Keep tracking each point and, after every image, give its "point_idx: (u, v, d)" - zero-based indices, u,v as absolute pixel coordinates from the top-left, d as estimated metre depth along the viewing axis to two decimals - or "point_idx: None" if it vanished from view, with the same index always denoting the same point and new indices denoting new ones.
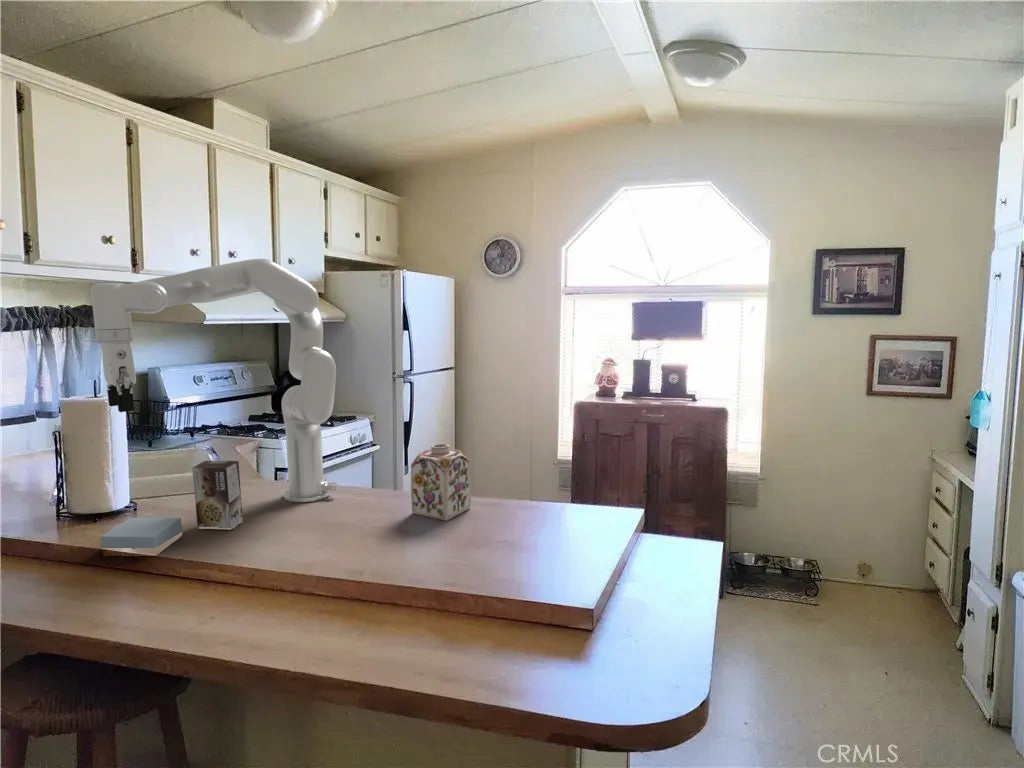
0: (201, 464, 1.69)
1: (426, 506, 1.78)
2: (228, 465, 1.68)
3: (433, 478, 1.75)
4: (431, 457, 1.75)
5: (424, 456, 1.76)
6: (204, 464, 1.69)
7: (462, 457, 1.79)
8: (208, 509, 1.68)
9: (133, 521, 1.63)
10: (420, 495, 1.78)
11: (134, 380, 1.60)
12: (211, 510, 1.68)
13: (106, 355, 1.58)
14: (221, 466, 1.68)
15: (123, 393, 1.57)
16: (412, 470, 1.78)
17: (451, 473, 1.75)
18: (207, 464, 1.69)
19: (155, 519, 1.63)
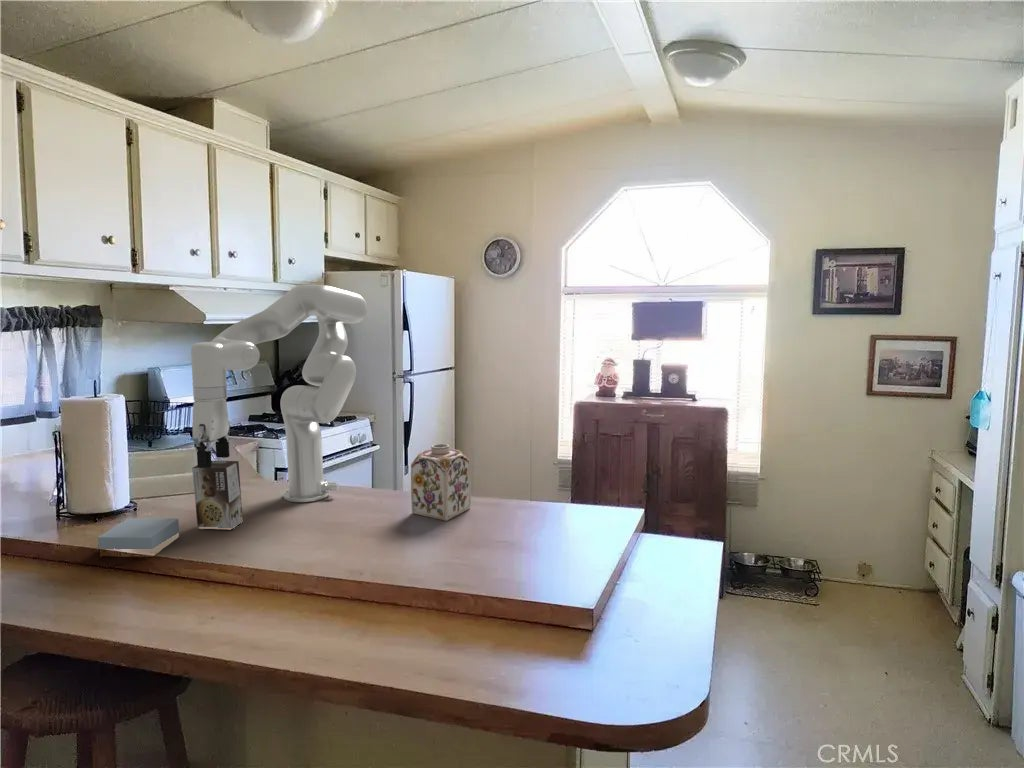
0: None
1: (426, 506, 1.78)
2: (228, 465, 1.68)
3: (434, 478, 1.75)
4: (431, 457, 1.75)
5: (424, 456, 1.76)
6: None
7: (462, 457, 1.79)
8: (208, 509, 1.68)
9: (130, 521, 1.62)
10: (420, 495, 1.78)
11: None
12: (211, 510, 1.68)
13: (224, 408, 1.69)
14: (221, 466, 1.68)
15: None
16: (412, 470, 1.78)
17: (451, 473, 1.75)
18: None
19: (152, 520, 1.63)
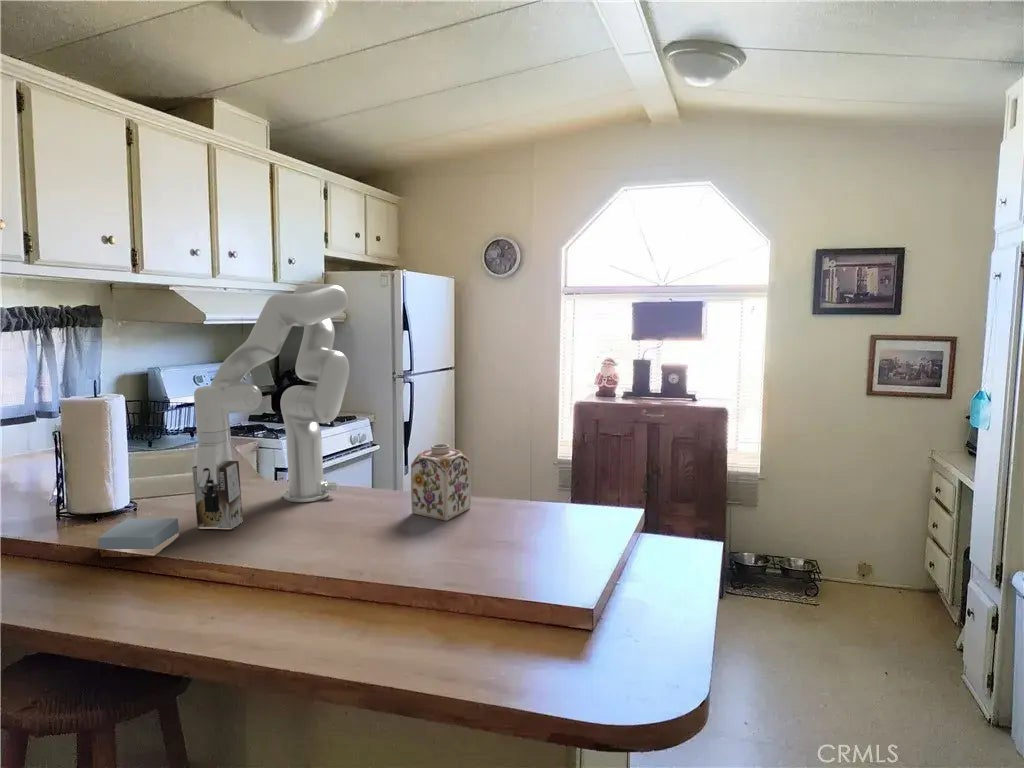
0: None
1: (426, 506, 1.78)
2: (228, 465, 1.68)
3: (434, 478, 1.75)
4: (431, 457, 1.75)
5: (424, 456, 1.76)
6: None
7: (462, 457, 1.79)
8: None
9: (130, 522, 1.62)
10: (420, 495, 1.78)
11: None
12: None
13: (228, 450, 1.71)
14: None
15: None
16: (412, 470, 1.78)
17: (451, 473, 1.75)
18: None
19: (151, 520, 1.63)
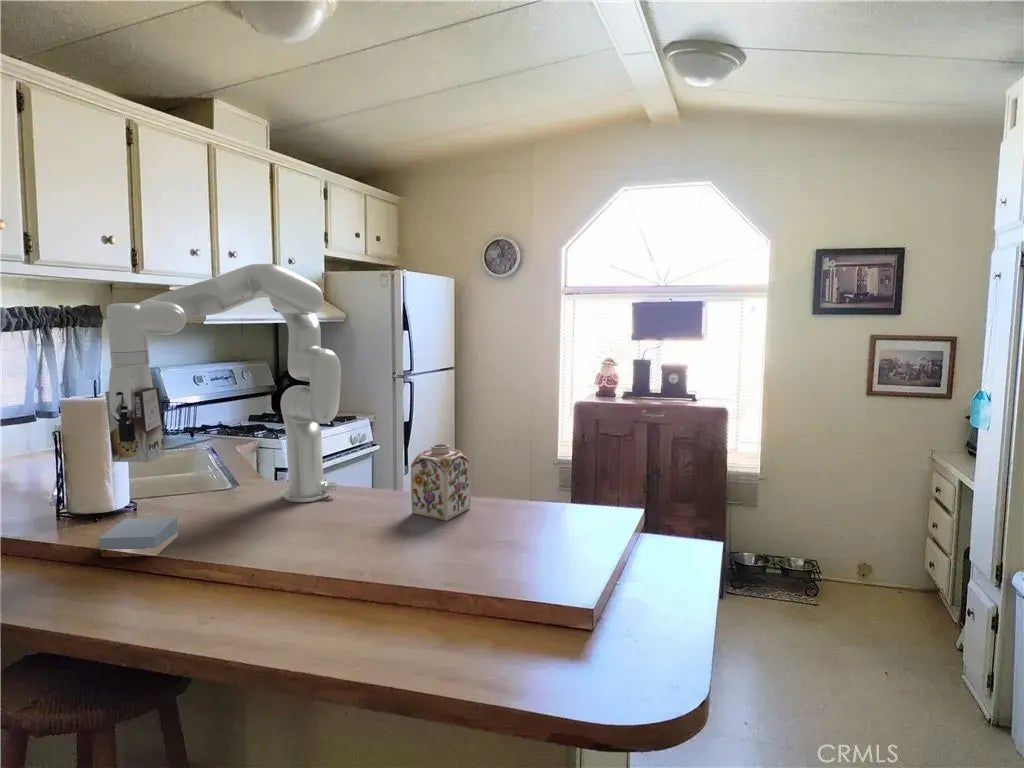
0: None
1: (426, 506, 1.78)
2: (145, 390, 1.53)
3: (434, 478, 1.75)
4: (431, 457, 1.75)
5: (424, 456, 1.76)
6: None
7: (462, 457, 1.79)
8: None
9: (128, 522, 1.62)
10: (420, 495, 1.78)
11: None
12: None
13: (147, 376, 1.56)
14: (137, 391, 1.52)
15: None
16: (412, 470, 1.78)
17: (451, 473, 1.75)
18: None
19: (150, 520, 1.63)
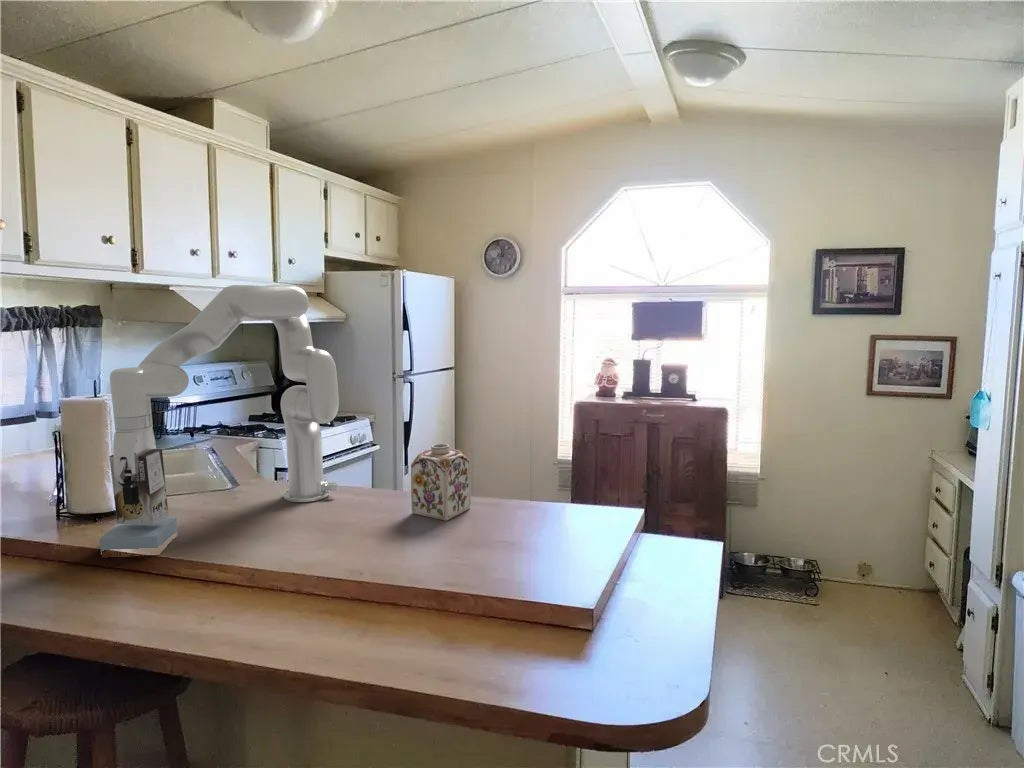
0: None
1: (426, 506, 1.78)
2: (149, 453, 1.55)
3: (434, 478, 1.75)
4: (431, 457, 1.75)
5: (424, 456, 1.76)
6: None
7: (462, 457, 1.79)
8: None
9: None
10: (420, 495, 1.78)
11: None
12: None
13: (150, 438, 1.58)
14: None
15: None
16: (412, 470, 1.78)
17: (451, 473, 1.75)
18: None
19: None
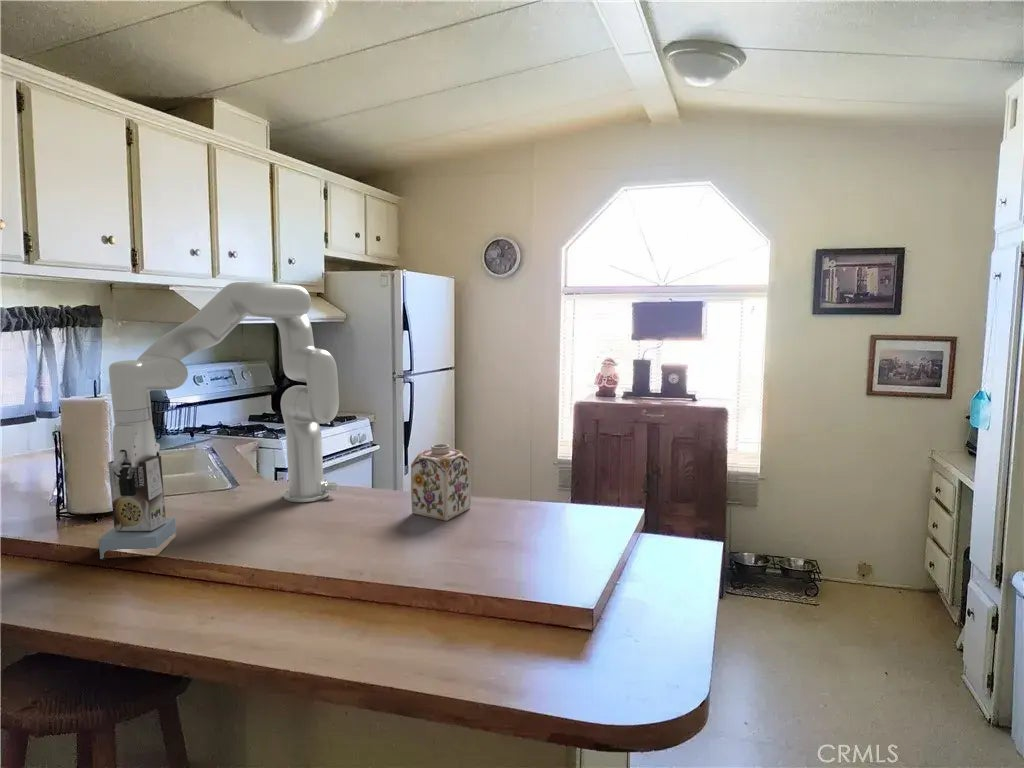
0: None
1: (426, 506, 1.78)
2: (148, 459, 1.55)
3: (434, 478, 1.75)
4: (431, 457, 1.75)
5: (424, 456, 1.76)
6: None
7: (462, 457, 1.79)
8: (126, 508, 1.55)
9: None
10: (420, 495, 1.78)
11: None
12: (129, 508, 1.55)
13: (150, 431, 1.57)
14: None
15: None
16: (412, 470, 1.78)
17: (451, 473, 1.75)
18: None
19: None
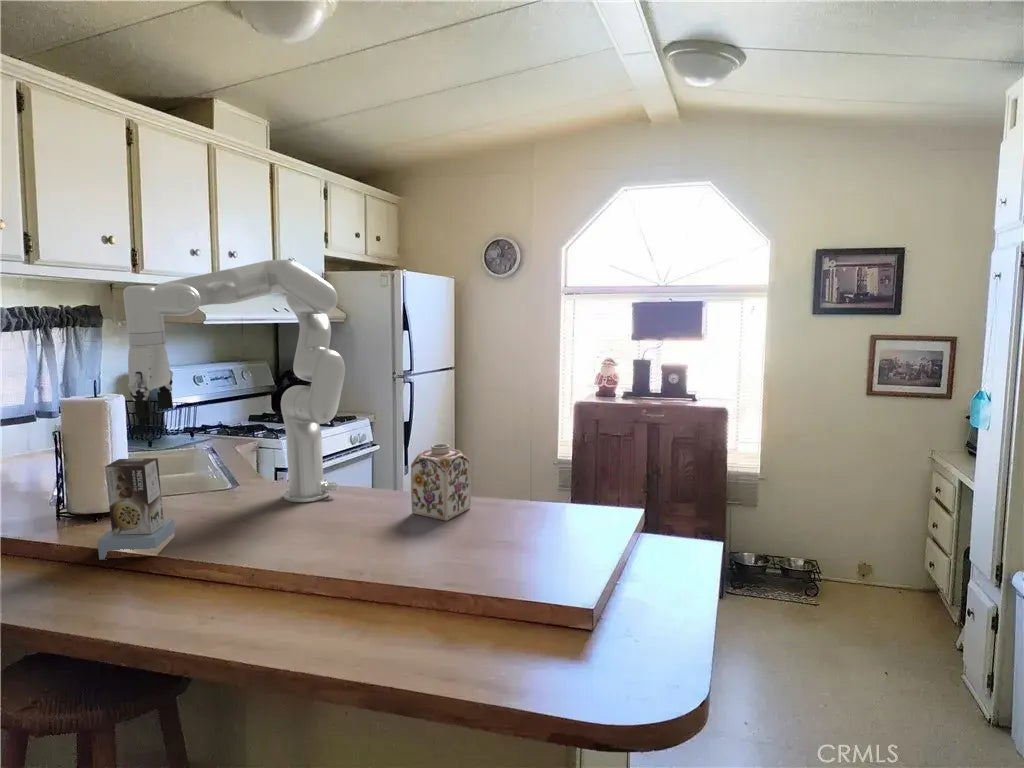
0: (115, 462, 1.54)
1: (426, 506, 1.78)
2: (146, 463, 1.54)
3: (434, 478, 1.75)
4: (431, 457, 1.75)
5: (424, 456, 1.76)
6: (118, 462, 1.54)
7: (462, 457, 1.79)
8: (124, 512, 1.53)
9: None
10: (420, 495, 1.78)
11: None
12: (127, 512, 1.53)
13: (164, 356, 1.60)
14: (138, 464, 1.53)
15: None
16: (412, 470, 1.78)
17: (451, 473, 1.75)
18: (122, 462, 1.54)
19: None
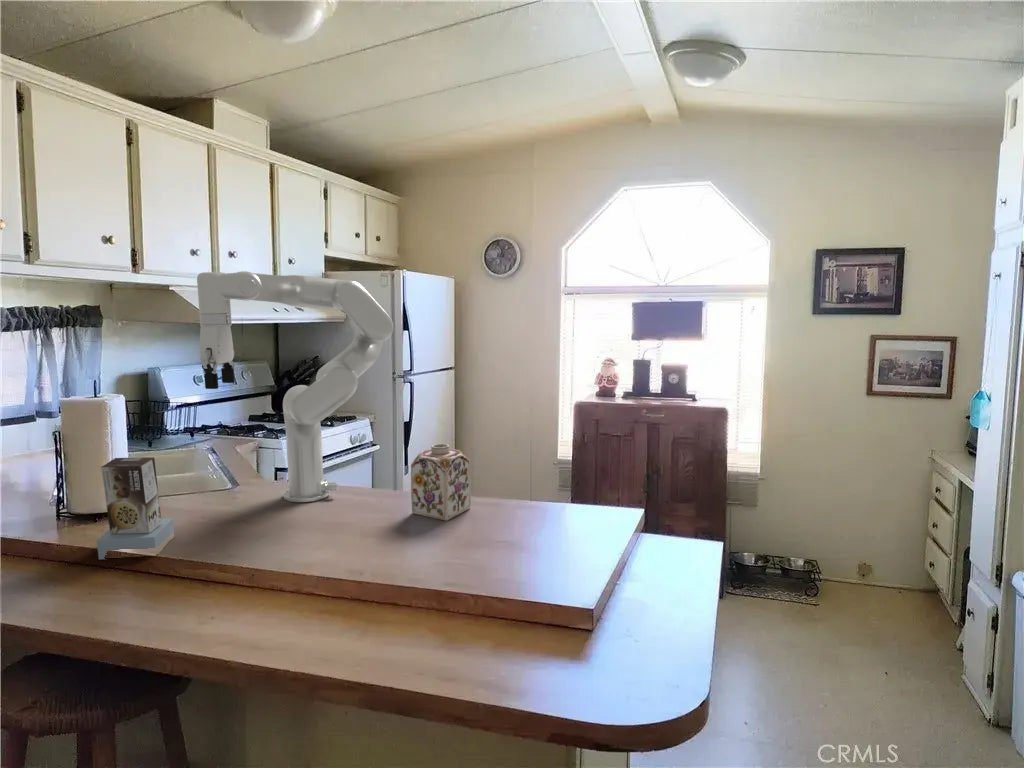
0: (111, 462, 1.54)
1: (426, 506, 1.78)
2: (143, 463, 1.53)
3: (434, 478, 1.75)
4: (431, 457, 1.75)
5: (424, 456, 1.76)
6: (115, 462, 1.54)
7: (462, 457, 1.79)
8: (122, 511, 1.53)
9: None
10: (420, 495, 1.78)
11: None
12: (125, 512, 1.53)
13: (229, 335, 1.81)
14: (135, 464, 1.53)
15: None
16: (412, 470, 1.78)
17: (451, 473, 1.75)
18: (118, 462, 1.54)
19: None
